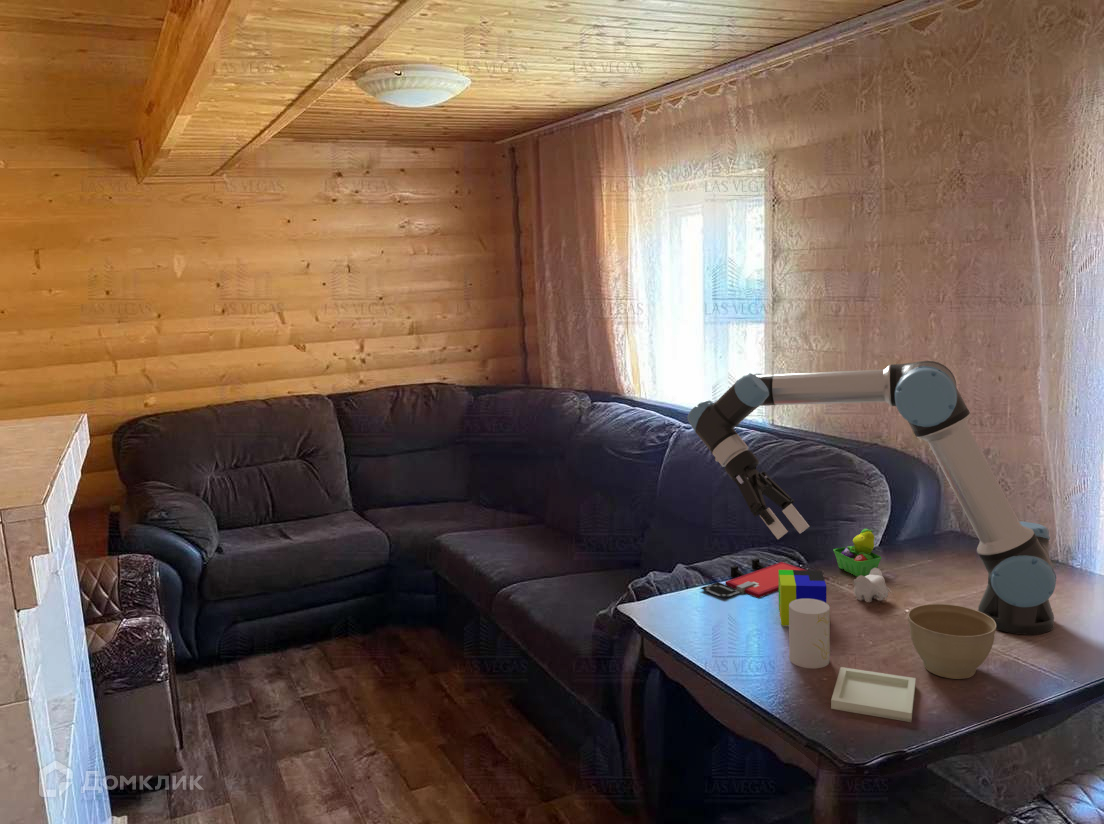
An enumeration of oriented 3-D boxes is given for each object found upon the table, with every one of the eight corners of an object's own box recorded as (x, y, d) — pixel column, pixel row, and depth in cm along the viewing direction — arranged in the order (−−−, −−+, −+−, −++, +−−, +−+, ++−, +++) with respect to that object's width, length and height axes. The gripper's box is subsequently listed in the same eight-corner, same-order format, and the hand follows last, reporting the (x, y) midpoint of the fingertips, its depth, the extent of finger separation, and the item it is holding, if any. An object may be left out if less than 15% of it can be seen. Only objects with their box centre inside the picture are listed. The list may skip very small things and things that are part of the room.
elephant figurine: (882, 609, 204) (882, 581, 203) (845, 599, 211) (845, 571, 210) (897, 600, 209) (898, 572, 208) (861, 590, 216) (861, 563, 215)
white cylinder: (823, 671, 176) (823, 616, 174) (784, 663, 180) (784, 609, 178) (833, 655, 182) (833, 602, 180) (795, 648, 187) (795, 596, 185)
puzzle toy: (826, 627, 196) (826, 586, 194) (781, 626, 198) (781, 585, 196) (821, 610, 206) (821, 570, 204) (778, 608, 208) (778, 569, 206)
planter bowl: (1006, 689, 165) (1008, 637, 163) (917, 687, 168) (918, 635, 166) (979, 652, 180) (981, 603, 178) (899, 650, 183) (900, 602, 181)
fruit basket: (831, 566, 233) (831, 527, 231) (859, 561, 236) (859, 522, 234) (858, 580, 222) (858, 539, 220) (886, 575, 225) (887, 534, 223)
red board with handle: (694, 589, 223) (738, 607, 211) (694, 579, 222) (738, 596, 210) (771, 562, 240) (815, 578, 228) (771, 553, 239) (815, 568, 227)
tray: (915, 686, 168) (915, 678, 167) (911, 722, 155) (911, 713, 155) (840, 675, 174) (840, 667, 173) (831, 708, 161) (831, 699, 161)
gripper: (746, 467, 210) (801, 537, 202) (701, 470, 190) (760, 548, 182) (768, 447, 207) (825, 518, 199) (725, 449, 187) (786, 527, 179)
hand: (794, 532), depth 190 cm, fingers open, 13 cm apart
